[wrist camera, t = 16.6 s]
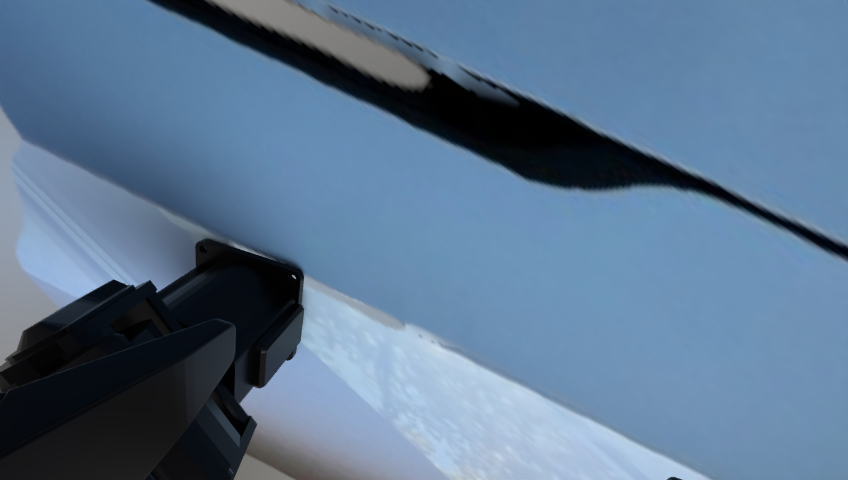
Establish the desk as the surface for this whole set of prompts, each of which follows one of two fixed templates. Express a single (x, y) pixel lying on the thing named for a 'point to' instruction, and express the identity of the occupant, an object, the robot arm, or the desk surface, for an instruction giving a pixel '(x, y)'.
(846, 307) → the desk surface
